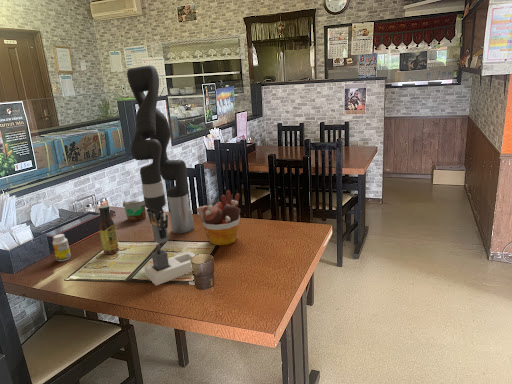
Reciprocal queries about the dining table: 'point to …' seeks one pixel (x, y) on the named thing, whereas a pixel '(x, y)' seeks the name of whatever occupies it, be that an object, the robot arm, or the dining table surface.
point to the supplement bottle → (61, 247)
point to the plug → (157, 234)
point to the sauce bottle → (107, 231)
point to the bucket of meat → (221, 220)
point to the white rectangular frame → (168, 266)
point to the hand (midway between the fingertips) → (160, 236)
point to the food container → (135, 210)
